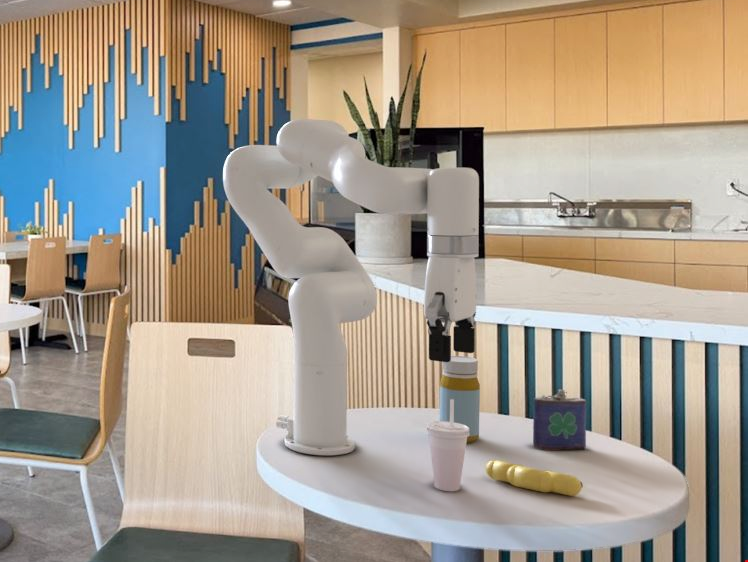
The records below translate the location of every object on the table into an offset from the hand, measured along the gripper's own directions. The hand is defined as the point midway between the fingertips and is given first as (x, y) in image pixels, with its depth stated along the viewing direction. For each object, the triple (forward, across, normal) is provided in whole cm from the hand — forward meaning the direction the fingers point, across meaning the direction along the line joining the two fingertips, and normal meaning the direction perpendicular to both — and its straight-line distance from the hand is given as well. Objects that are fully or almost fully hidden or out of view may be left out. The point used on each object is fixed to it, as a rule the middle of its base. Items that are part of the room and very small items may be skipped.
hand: (452, 356), depth 135 cm
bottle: (+21, -28, -10) cm, 36 cm away
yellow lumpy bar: (+21, -8, +9) cm, 24 cm away
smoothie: (+21, 0, -1) cm, 21 cm away
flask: (+21, -34, +7) cm, 40 cm away
